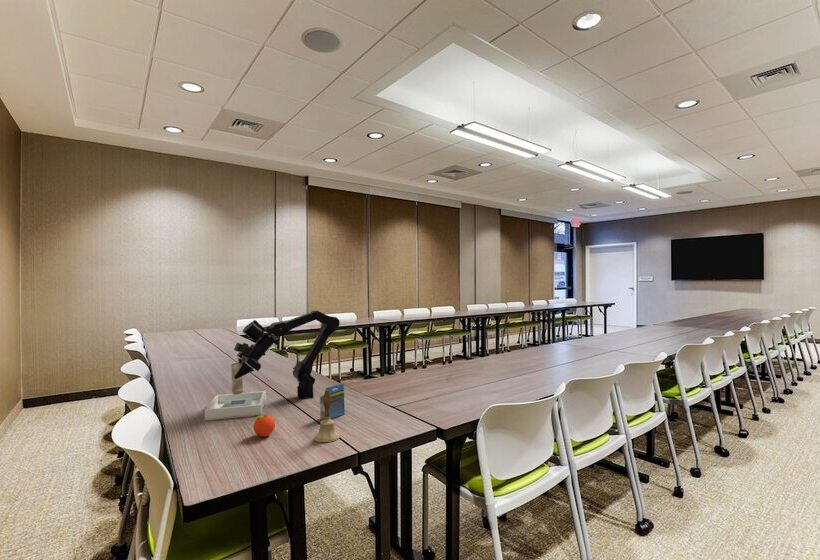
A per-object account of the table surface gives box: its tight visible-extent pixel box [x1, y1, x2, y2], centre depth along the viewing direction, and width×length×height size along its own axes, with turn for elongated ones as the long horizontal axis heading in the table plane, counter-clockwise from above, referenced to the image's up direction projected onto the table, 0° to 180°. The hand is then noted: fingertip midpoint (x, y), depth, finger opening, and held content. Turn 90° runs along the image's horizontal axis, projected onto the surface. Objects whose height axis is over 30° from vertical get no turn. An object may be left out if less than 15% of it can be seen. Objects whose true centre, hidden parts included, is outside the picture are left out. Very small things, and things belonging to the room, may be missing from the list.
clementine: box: [249, 414, 276, 437], centre depth 133 cm, size 8×7×7 cm
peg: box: [230, 362, 244, 395], centre depth 161 cm, size 4×4×12 cm
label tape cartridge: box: [319, 382, 346, 421], centre depth 151 cm, size 9×4×12 cm, turn 139°
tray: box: [204, 390, 267, 422], centre depth 161 cm, size 20×20×4 cm
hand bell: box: [314, 389, 341, 443], centre depth 131 cm, size 8×8×16 cm
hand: (233, 377), depth 160 cm, fingers closed on peg, 4 cm apart
